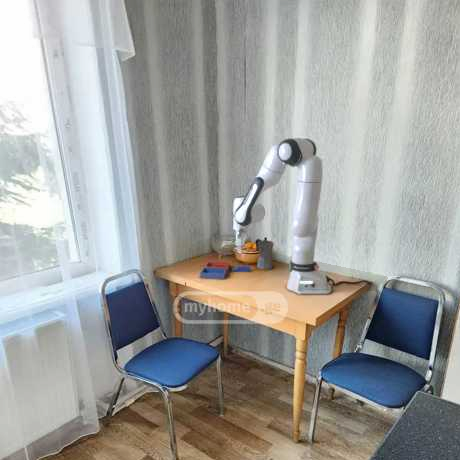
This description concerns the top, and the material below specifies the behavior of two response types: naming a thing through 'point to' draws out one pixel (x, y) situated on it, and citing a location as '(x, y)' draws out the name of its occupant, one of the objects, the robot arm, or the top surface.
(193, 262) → the top surface
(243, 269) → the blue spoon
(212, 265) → the red bin
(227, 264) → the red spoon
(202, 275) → the blue bin
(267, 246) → the coffeepot
